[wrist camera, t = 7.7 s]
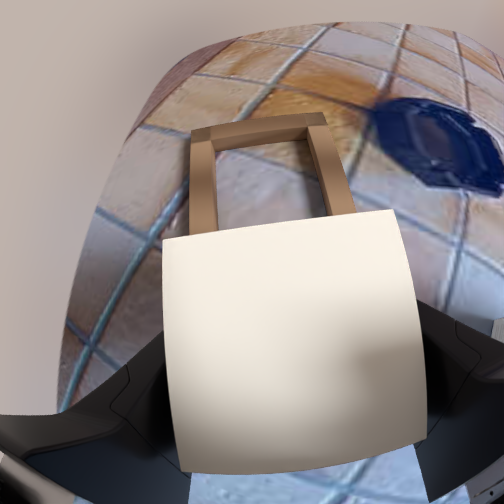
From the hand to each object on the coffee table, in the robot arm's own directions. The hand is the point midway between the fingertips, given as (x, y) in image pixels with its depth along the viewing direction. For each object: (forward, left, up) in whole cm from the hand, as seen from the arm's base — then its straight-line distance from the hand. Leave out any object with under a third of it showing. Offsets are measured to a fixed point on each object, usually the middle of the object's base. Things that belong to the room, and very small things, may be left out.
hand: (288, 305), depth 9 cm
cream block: (-1, -1, -7) cm, 7 cm away
